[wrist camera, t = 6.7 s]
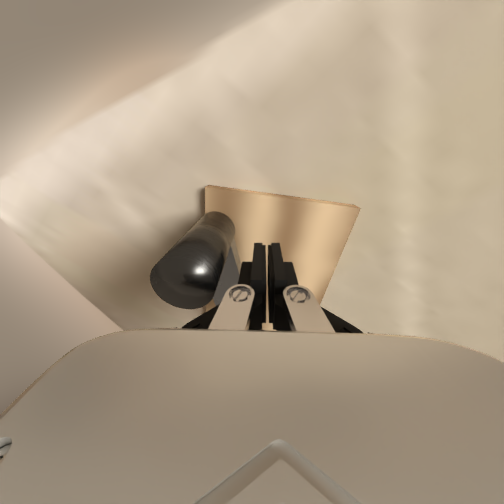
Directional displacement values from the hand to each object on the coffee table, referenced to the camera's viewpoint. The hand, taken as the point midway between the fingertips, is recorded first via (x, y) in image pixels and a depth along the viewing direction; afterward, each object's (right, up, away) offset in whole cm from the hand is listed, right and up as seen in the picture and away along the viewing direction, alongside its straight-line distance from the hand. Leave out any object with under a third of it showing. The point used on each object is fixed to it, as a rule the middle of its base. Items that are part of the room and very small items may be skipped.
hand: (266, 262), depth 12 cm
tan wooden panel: (0, -7, +11) cm, 13 cm away
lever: (-5, -5, +8) cm, 11 cm away
